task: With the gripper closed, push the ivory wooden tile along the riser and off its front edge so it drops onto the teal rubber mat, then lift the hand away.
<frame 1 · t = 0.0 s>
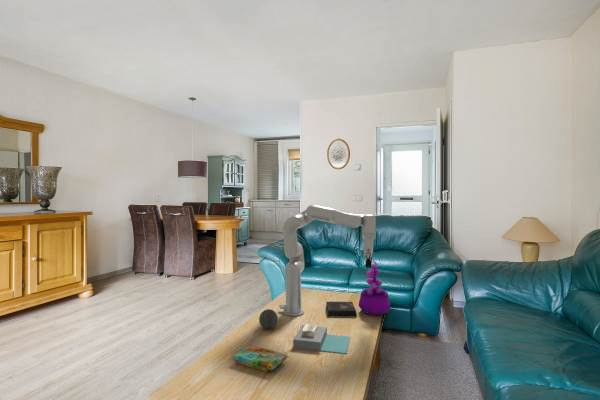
hand: (368, 265, 190), 31 cm above the table, tool pointing down, fingers open, 9 cm apart
portable cd player: (341, 312, 203), on the table
mat: (336, 343, 159), on the table
tile: (309, 332, 162), point 4 cm above the table, touching riser
decorative ball: (268, 328, 178), on the table
riser: (310, 341, 162), on the table
puzzle game: (260, 364, 141), on the table
decorative plant: (374, 313, 201), on the table
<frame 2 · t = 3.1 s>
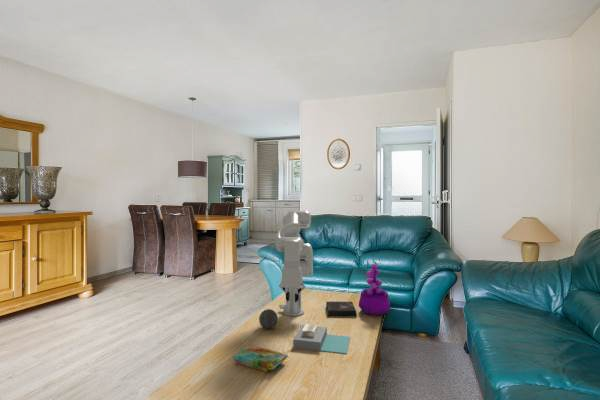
hand: (292, 300, 164), 19 cm above the table, tool pointing down, fingers open, 3 cm apart
nothing on the table moved.
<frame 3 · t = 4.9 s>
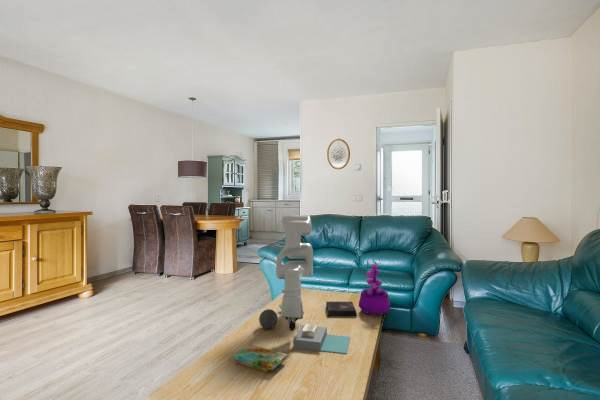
hand: (292, 329, 164), 5 cm above the table, tool pointing down, fingers closed
nothing on the table moved.
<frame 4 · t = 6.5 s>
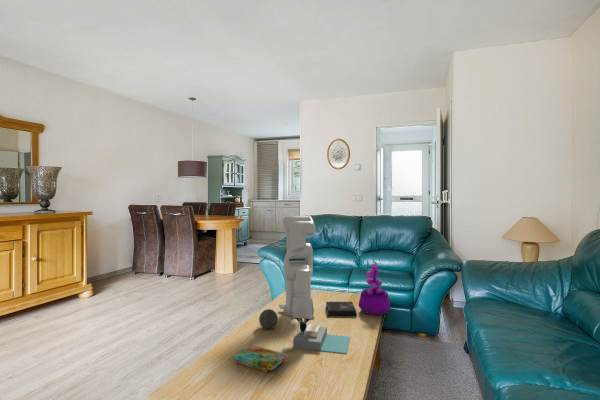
hand: (303, 330, 163), 5 cm above the table, tool pointing down, fingers closed
tile: (312, 333, 162), point 4 cm above the table, touching gripper
everything else where it was.
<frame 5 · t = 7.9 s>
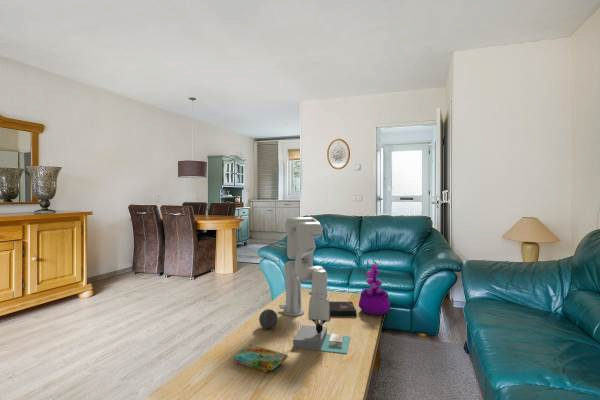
hand: (319, 332, 161), 5 cm above the table, tool pointing down, fingers closed
tile: (336, 337, 159), point 3 cm above the table, tilted 180°, touching mat
everything else where it was.
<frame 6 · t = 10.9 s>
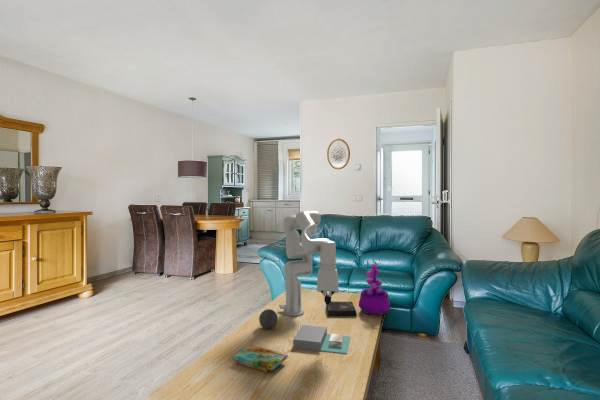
hand: (327, 303, 160), 19 cm above the table, tool pointing down, fingers closed
nothing on the table moved.
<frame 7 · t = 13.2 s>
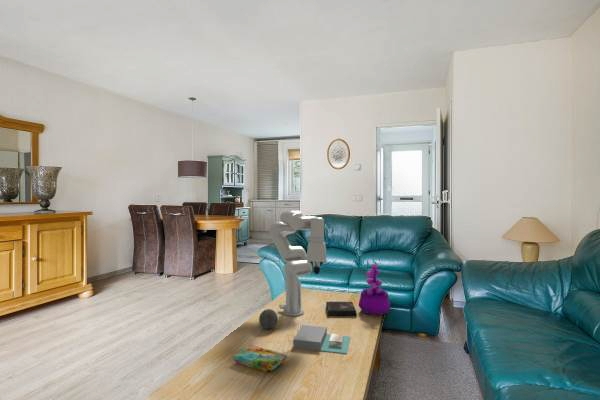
hand: (316, 273, 179), 29 cm above the table, tool pointing down, fingers closed
nothing on the table moved.
at the end: tile inside the target area (0.3 cm from its centre), point 2.9 cm above the table; tile touching mat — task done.
